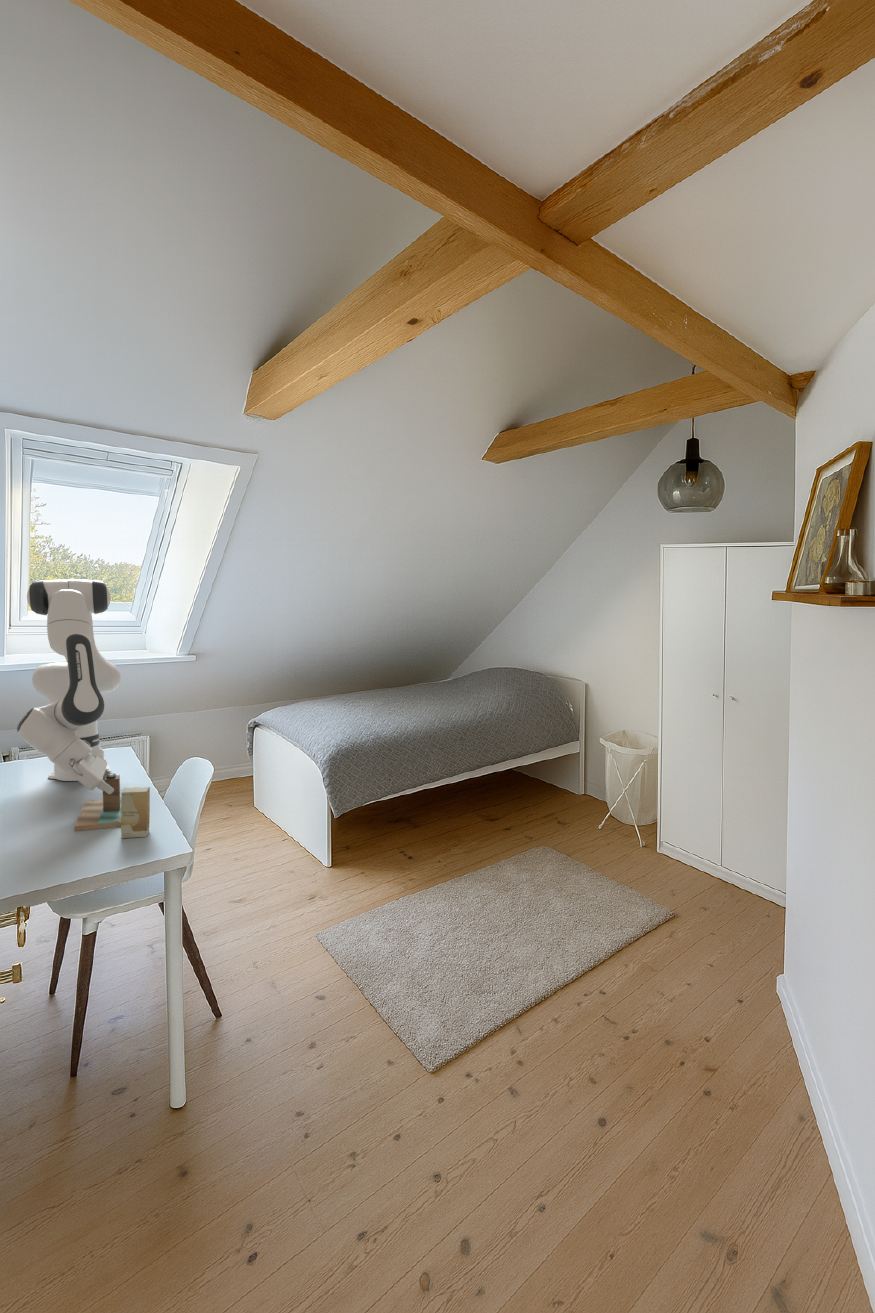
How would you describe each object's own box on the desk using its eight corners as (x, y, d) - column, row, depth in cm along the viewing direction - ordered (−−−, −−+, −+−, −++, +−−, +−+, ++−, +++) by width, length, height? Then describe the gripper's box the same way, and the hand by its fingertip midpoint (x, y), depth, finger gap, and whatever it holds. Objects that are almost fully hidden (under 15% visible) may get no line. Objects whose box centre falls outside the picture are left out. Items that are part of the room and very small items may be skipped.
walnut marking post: (104, 807, 180) (103, 773, 179) (120, 806, 181) (119, 772, 180) (103, 812, 176) (102, 777, 175) (119, 810, 178) (118, 775, 177)
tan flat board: (84, 805, 186) (84, 800, 186) (140, 800, 192) (140, 795, 191) (74, 831, 166) (74, 825, 165) (137, 824, 171) (137, 819, 171)
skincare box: (120, 839, 161) (119, 792, 160) (124, 832, 165) (123, 787, 164) (148, 837, 163) (147, 790, 162) (150, 831, 167) (150, 786, 166)
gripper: (77, 756, 165) (119, 789, 169) (86, 739, 183) (124, 769, 188) (58, 774, 163) (101, 807, 168) (69, 755, 182) (108, 785, 187)
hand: (113, 787), depth 178 cm, fingers open, 8 cm apart
